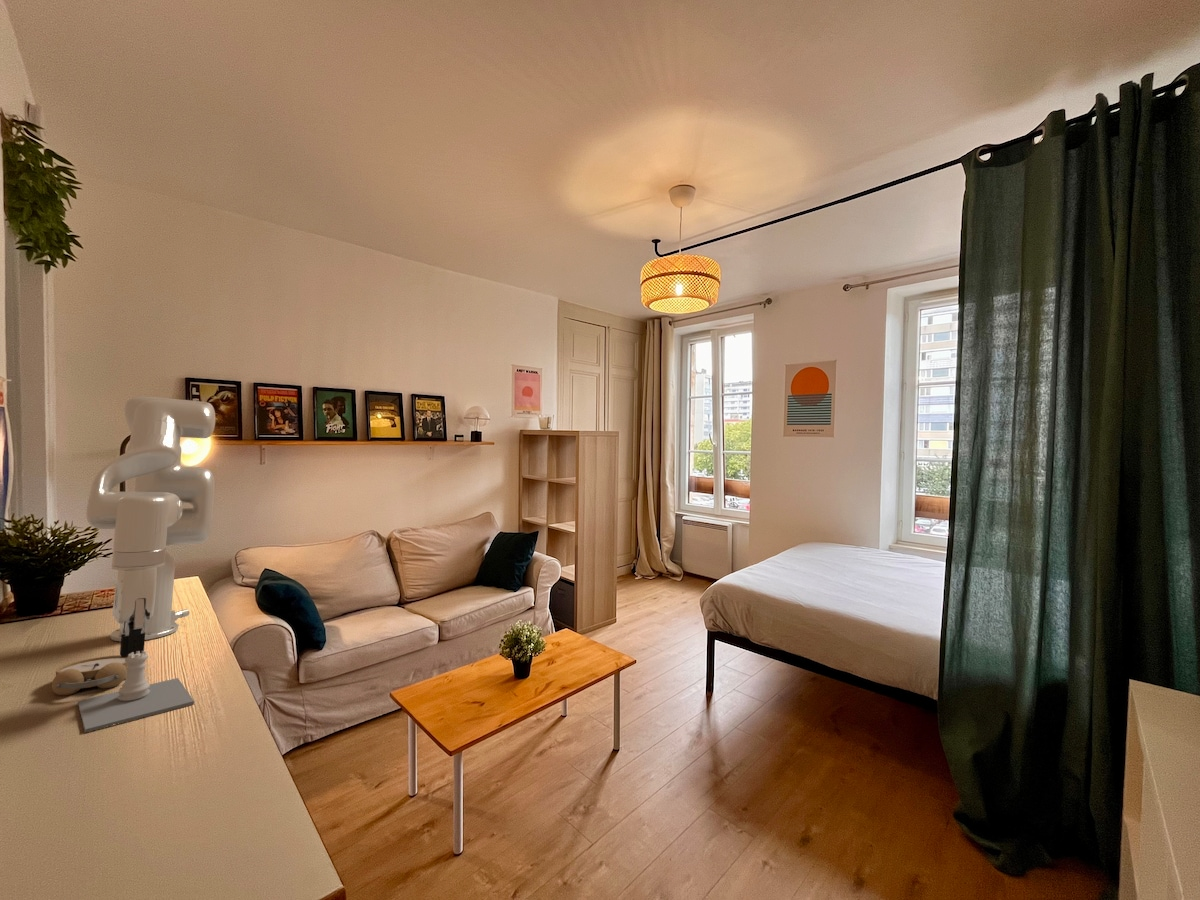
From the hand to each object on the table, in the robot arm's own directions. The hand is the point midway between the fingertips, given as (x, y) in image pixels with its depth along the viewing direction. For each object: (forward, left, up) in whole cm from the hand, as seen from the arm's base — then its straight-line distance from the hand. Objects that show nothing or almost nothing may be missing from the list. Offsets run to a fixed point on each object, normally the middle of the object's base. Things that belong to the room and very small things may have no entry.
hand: (131, 654), depth 95 cm
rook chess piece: (+2, +4, -7) cm, 8 cm away
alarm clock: (-1, -10, -8) cm, 13 cm away
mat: (+4, +7, -7) cm, 10 cm away
